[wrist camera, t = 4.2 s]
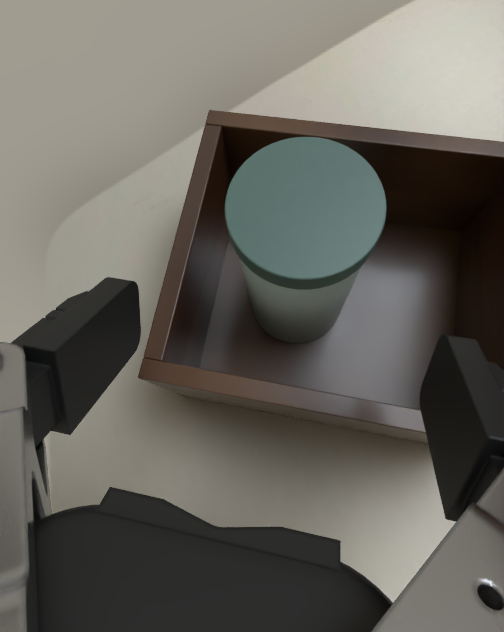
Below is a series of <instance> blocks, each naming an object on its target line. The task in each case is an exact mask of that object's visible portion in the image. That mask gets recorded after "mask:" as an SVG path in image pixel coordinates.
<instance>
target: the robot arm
mask: <svg viewBox="0 0 504 632" xmlns="http://www.w3.org/2000/svg"><path fill="white" fill-rule="evenodd" d="M140 335H141V326H140V308H139V290H138V286H137V284H136V282H134V281H128V280H122V279H116V278H110V277H107V278H105V279H104V280H103V281H101V282H100V283H99V284H98V285H96V286H95V287H94V288H93V289H91V290H90V291H89V292H88V291H86V292H83V293H81V294H78V295H76V296H73V297H71V298H68V299H67V300H66V301H64V302H63V303H62V304H60V305H59V306H58V307H57V308H56V310H53V311H51V312H50V313H49V314H48V315H46V318H42V319H41V320H40V321H39V322H37V323H36V324H35V325H33V326H32V327H31V328H29V329H28V330H27V331H26V332H24V333H23V334H22V335H20V336H19V337H18V338H17V339H15V340H14V341H13V342H11V343H5V342H0V632H504V370H503V369H502V368H501V367H500V366H498V365H497V364H496V363H493V362H488V361H487V359H486V357H485V355H484V353H483V351H482V350H481V348H480V346H479V344H478V342H477V341H476V340H475V339H470V338H464V337H458V336H452V335H446V334H443V335H441V336H440V338H439V339H438V342H437V344H436V347H435V350H434V352H433V355H432V358H431V360H430V363H429V366H428V369H427V371H426V374H425V377H424V380H423V382H422V386H421V390H420V410H421V414H422V418H423V423H424V427H425V431H426V436H427V440H428V444H429V449H430V453H431V457H432V462H433V466H434V470H435V474H436V479H437V483H438V487H439V492H440V496H441V500H442V505H443V509H444V513H445V518H446V519H448V520H452V521H457V522H456V523H455V524H454V526H453V527H452V528H451V530H450V531H449V532H448V533H447V535H446V536H445V537H444V539H443V540H442V541H441V542H440V544H439V545H438V546H437V548H436V549H435V550H434V551H433V553H432V554H431V555H430V557H429V558H428V559H427V561H426V562H425V563H424V564H423V566H422V567H421V568H420V570H419V571H418V572H417V573H416V575H415V576H414V577H413V579H412V580H411V581H410V582H409V584H408V585H407V586H406V588H405V589H404V590H403V591H402V593H401V594H400V595H399V597H398V598H397V599H396V600H395V602H394V603H392V602H391V600H390V599H389V598H388V597H387V596H386V595H385V594H384V593H383V592H382V591H381V590H380V589H379V588H378V587H377V586H375V585H374V584H373V583H372V582H371V581H369V580H368V579H367V578H366V577H364V576H363V575H362V574H360V573H359V572H357V571H356V570H354V569H353V568H351V567H349V566H348V565H346V564H344V563H342V562H340V541H339V540H335V539H331V538H326V537H322V536H318V535H314V534H309V533H305V532H301V531H296V530H292V529H288V528H284V527H225V528H223V527H216V526H213V525H211V524H209V523H207V522H205V521H203V520H202V519H200V518H198V517H196V516H194V515H192V514H190V513H188V512H186V511H184V510H183V509H181V508H179V507H177V506H175V505H173V504H171V503H169V502H167V501H166V500H164V499H159V498H155V497H151V496H147V495H142V494H138V493H134V492H130V491H125V490H121V489H117V488H112V487H110V488H109V489H108V491H107V493H106V494H105V496H104V498H103V500H102V501H101V503H100V505H89V506H82V507H76V508H72V509H68V510H64V511H61V512H58V513H55V514H52V510H51V501H50V490H49V479H48V468H47V458H46V447H45V443H44V437H46V435H47V434H48V433H49V432H50V431H55V432H59V433H64V434H68V435H71V433H72V432H73V431H74V429H75V428H76V427H77V426H78V424H79V423H80V422H81V421H82V419H83V418H84V417H85V415H86V414H87V413H88V412H89V410H90V409H91V408H92V407H93V405H94V404H95V403H96V401H97V400H98V399H99V398H100V396H101V395H102V394H103V392H104V391H105V390H106V389H107V387H108V386H109V385H110V384H111V382H112V381H113V380H114V378H115V377H116V376H117V375H118V373H119V372H120V371H121V369H122V368H123V367H124V366H125V364H126V363H127V362H128V361H129V359H130V358H131V357H132V355H133V354H134V353H135V351H136V349H137V347H138V344H139V341H140Z"/></svg>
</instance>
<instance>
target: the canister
mask: <svg viewBox="0 0 504 632" xmlns="http://www.w3.org/2000/svg"><path fill="white" fill-rule="evenodd" d="M386 211H387V206H386V197H385V192H384V189H383V186H382V183H381V181H380V179H379V177H378V175H377V173H376V172H375V170H374V169H373V168H372V166H371V165H370V164H369V163H368V162H367V161H366V160H365V159H364V158H363V157H362V156H361V155H359V154H358V153H357V152H355V151H354V150H352V149H350V148H349V147H347V146H345V145H343V144H340V143H338V142H335V141H332V140H328V139H324V138H318V137H296V138H289V139H285V140H281V141H278V142H275V143H272V144H270V145H268V146H266V147H264V148H262V149H260V150H259V151H257V152H256V153H254V154H253V155H252V156H251V157H250V158H248V159H247V160H246V161H245V162H244V163H243V164H242V166H241V167H240V168H239V169H238V171H237V172H236V174H235V175H234V177H233V179H232V181H231V183H230V185H229V188H228V191H227V195H226V200H225V220H226V224H227V228H228V232H229V236H230V239H231V242H232V245H233V247H234V250H235V251H236V253H237V255H238V256H239V258H240V262H241V266H242V270H243V274H244V278H245V282H246V286H247V290H248V294H249V298H250V302H251V306H252V310H253V313H254V316H255V318H256V320H257V322H258V323H259V325H260V326H261V327H262V328H263V329H264V330H265V331H266V332H267V333H268V334H270V335H271V336H273V337H274V338H276V339H279V340H281V341H285V342H290V343H304V342H309V341H312V340H315V339H317V338H319V337H321V336H322V335H324V334H325V333H327V332H328V331H329V330H330V329H331V328H332V326H333V325H334V324H335V322H336V320H337V319H338V317H339V314H340V312H341V310H342V308H343V306H344V303H345V301H346V299H347V297H348V295H349V292H350V290H351V288H352V286H353V284H354V281H355V279H356V277H357V275H358V272H359V270H360V268H361V266H362V265H363V264H364V263H365V262H366V261H367V259H368V258H369V257H370V255H371V253H372V252H373V250H374V248H375V246H376V244H377V242H378V240H379V238H380V235H381V233H382V230H383V228H384V224H385V220H386Z"/></svg>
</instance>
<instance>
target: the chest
mask: <svg viewBox="0 0 504 632" xmlns="http://www.w3.org/2000/svg"><path fill="white" fill-rule="evenodd" d="M296 137H318V138H324V139H328V140H332V141H335V142H338V143H340V144H343V145H345V146H347V147H349V148H350V149H352V150H354V151H355V152H357V153H358V154H359V155H361V156H362V157H363V158H364V159H365V160H366V161H367V162H368V163H369V164H370V165H371V166H372V168H373V169H374V170H375V172H376V173H377V175H378V177H379V179H380V181H381V183H382V186H383V189H384V192H385V197H386V206H387V211H386V220H385V224H384V228H383V230H382V233H381V235H380V238H379V240H378V242H377V244H376V246H375V248H374V250H373V252H372V253H371V255H370V257H369V258H368V259H367V261H366V262H365V263H364V264H363V265H362V266H361V268H360V270H359V272H358V275H357V277H356V279H355V281H354V284H353V286H352V288H351V290H350V292H349V295H348V297H347V299H346V301H345V303H344V306H343V308H342V310H341V312H340V314H339V317H338V319H337V320H336V322H335V324H334V325H333V326H332V328H331V329H330V330H329V331H328V332H327V333H325V334H324V335H322V336H321V337H319V338H317V339H315V340H312V341H309V342H304V343H290V342H285V341H281V340H279V339H276V338H274V337H273V336H271V335H270V334H268V333H267V332H266V331H265V330H264V329H263V328H262V327H261V326H260V325H259V323H258V322H257V320H256V318H255V316H254V313H253V310H252V306H251V302H250V298H249V294H248V290H247V286H246V282H245V278H244V274H243V270H242V266H241V262H240V258H239V256H238V255H237V253H236V251H235V250H234V247H233V245H232V242H231V239H230V236H229V232H228V228H227V224H226V220H225V200H226V195H227V191H228V188H229V185H230V183H231V181H232V179H233V177H234V175H235V174H236V172H237V171H238V169H239V168H240V167H241V166H242V164H243V163H244V162H245V161H246V160H247V159H248V158H250V157H251V156H252V155H253V154H254V153H256V152H257V151H259V150H260V149H262V148H264V147H266V146H268V145H270V144H272V143H275V142H278V141H281V140H285V139H289V138H296ZM443 334H446V335H452V336H458V337H464V338H470V339H475V340H476V341H477V342H478V344H479V346H480V348H481V350H482V351H483V353H484V355H485V357H486V359H487V361H488V362H493V363H496V364H497V365H498V366H500V367H501V368H502V369H503V370H504V142H499V141H490V140H480V139H471V138H462V137H453V136H443V135H434V134H425V133H416V132H407V131H397V130H388V129H379V128H370V127H361V126H351V125H342V124H333V123H324V122H314V121H305V120H296V119H287V118H278V117H268V116H259V115H250V114H241V113H231V112H222V111H212V110H210V111H209V113H208V116H207V120H206V125H205V128H204V131H203V135H202V139H201V143H200V147H199V150H198V154H197V158H196V162H195V165H194V169H193V173H192V177H191V180H190V184H189V188H188V192H187V195H186V199H185V203H184V207H183V211H182V214H181V218H180V222H179V226H178V229H177V233H176V237H175V241H174V244H173V248H172V252H171V256H170V259H169V263H168V267H167V271H166V275H165V278H164V282H163V286H162V290H161V293H160V297H159V301H158V305H157V308H156V312H155V316H154V320H153V323H152V327H151V331H150V335H149V339H148V342H147V346H146V350H145V354H144V358H143V361H142V364H141V368H140V372H139V376H138V378H140V379H142V380H145V381H147V382H150V383H152V384H155V385H157V386H160V387H162V388H164V389H167V390H169V391H172V392H174V393H177V394H180V395H182V396H186V397H192V398H197V399H202V400H207V401H212V402H217V403H222V404H227V405H232V406H237V407H242V408H248V409H253V410H258V411H263V412H268V413H273V414H278V415H283V416H288V417H293V418H299V419H304V420H309V421H314V422H319V423H324V424H329V425H334V426H339V427H344V428H350V429H355V430H360V431H365V432H370V433H375V434H380V435H385V436H390V437H395V438H401V439H406V440H411V441H416V442H421V443H426V444H428V440H427V436H426V431H425V427H424V423H423V418H422V414H421V410H420V390H421V386H422V382H423V380H424V377H425V374H426V371H427V369H428V366H429V363H430V360H431V358H432V355H433V352H434V350H435V347H436V344H437V342H438V339H439V338H440V336H441V335H443Z"/></svg>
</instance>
